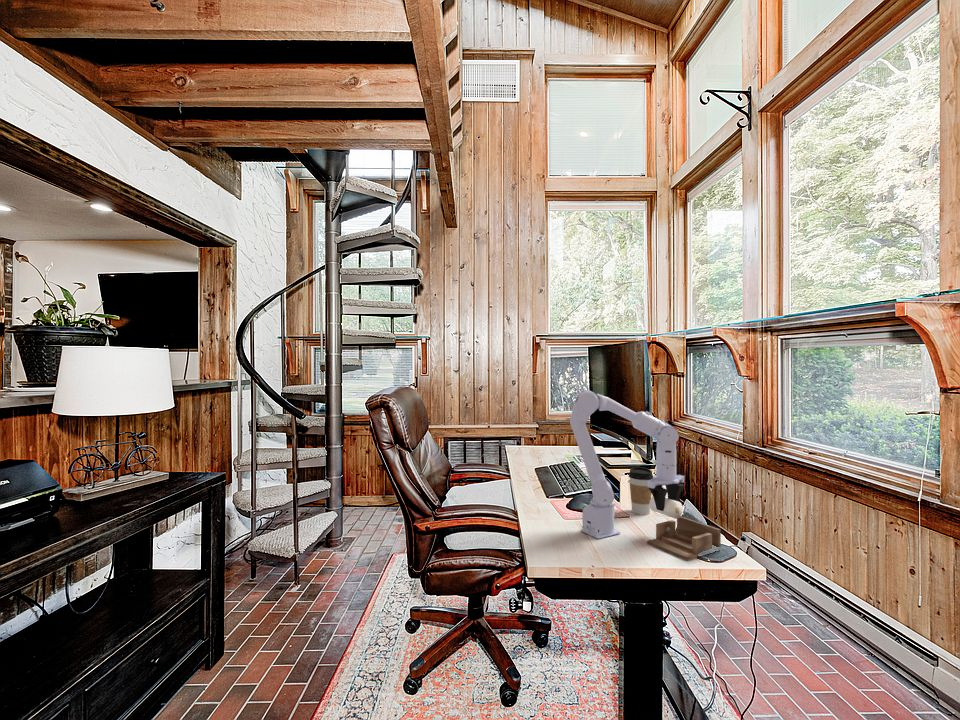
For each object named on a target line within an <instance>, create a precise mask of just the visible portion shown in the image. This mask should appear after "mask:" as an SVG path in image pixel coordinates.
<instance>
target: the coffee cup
mask: <svg viewBox="0 0 960 720" xmlns="http://www.w3.org/2000/svg"><path fill="white" fill-rule="evenodd" d="M628 477H629V490H630V491H629V492H630V503H631V511H632V513H633V514H636V515H649V514H650V512H651V509H650V500H651V498H652V493H651V491H650V490H649V487H647V481H648V480H651V479H653V478H655V477H654V475H653V471H652V470H651V469H649V468H647V467H644V466H643V467H641V466H633V467H631V468H630V469H629V473H628Z"/></svg>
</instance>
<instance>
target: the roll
mask: <svg viewBox="0 0 960 720" xmlns="http://www.w3.org/2000/svg"><path fill="white" fill-rule="evenodd" d="M683 507H684V506H683V504H682V502H680V501H679V500H678V501H675V500H671V499H668V497H665V506H664V511H660V510H657V508H656V504H655V501H654V498H653V496H651V500H650V511H651V512H652V511H653V512H655V513H658V514H661V515H664V516H667V517H668V518H669V517H670V518H672V519H676V520H677V518H679V517H680V516H682V514H683Z"/></svg>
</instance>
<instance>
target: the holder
mask: <svg viewBox="0 0 960 720" xmlns="http://www.w3.org/2000/svg"><path fill="white" fill-rule="evenodd" d="M721 534H722V532H721V528H717V527H716V526H712V525H708V524H706V523H703V522H700V521H698V520H693V519H691V518H688V517H684V516H682V515H681V516H680V517H679V518H677V519H676V520H673V519H671V520H667V521H663V522H659V523H656V524H655V538H653V539H650V540H649V539H648V540H647V541H646V542H647V545H650V546H653V547H655V548H657V549H659V550H662V551H664V552H666V553H669V554H671V555H674V556H675V557H677V558H678V557H679V558H680V559H682V560H685V561H692V560H695V559H696V560H697V559H698V558H697V556H698V554H699V553H701V552H703V551H706V550H709V549H712V545H714V546H716V547H722V545H721V542H722V541H721V538H722V537H721Z"/></svg>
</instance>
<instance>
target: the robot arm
mask: <svg viewBox="0 0 960 720" xmlns="http://www.w3.org/2000/svg"><path fill="white" fill-rule="evenodd" d="M597 410H598V411H599V412H603V411H605V412H606V411H609V412H611V413H612V414H615V415H617V416H620V417H621V418H623V419H626V420H628V421H629V422H631V423H632V427H633V428H634V429H636V430H638V431H639V432H642V433H644V434H645V435H647V436H649V437H651V438H656V449H655V452H656V454H655V455H656V456H655V458H656V461H655V463H656V465H655V473H656V474H655V477H654V478H653V479H651V480H648V481H647V487H649V490H650V491H651V493H652V494H651V496H652V497H653V498H654V501H655V504H656V508H657V510H660V511H664V506H665V498H668V499H671V500H675V501H678V502H679V498H680V495H681V493H682V491H683V489H684V488H685V485H684V484H683V483H685V475H682V474H677V442H678V441H679V438H680V435H679V432H678V430H677V429H676V428H675V426H672V425H671V424H669V423H668V422H666V421H665V420H664V419H659V418H657V417H654V416H653V415H651V414H652V413H651V412H649V411H643V410H641V411H637V412H635V411H634V410H632V409H630V408H628V407H626V406H624V405H622V404H621V403H619V402H617V401H616V400H614V399H612V398H610V397H609V396H605V395H603V394H599V393H595V392H593V391H591V390H588V389H586V390H583V391H581V392H580V393H578V396H577V397H576V399H575V400H574V403H573V407H572V411H571V413H570V414H571V415H570V418H569V424H570V427H571V429H572V432H573V433H572V434H573V435H574V438H575V441H576V443H577V446H578V449H579V452H580V454H581V457H582V460H583V461H582V462H583V463H584V465H585V468H586V472H587V474H588V477H589V481H590V483H591V486H590V489H591V492H592V498H591V499H590V503H589V504H588V505H586V506H584V508H583V509H582V518H581V519H582V523H581V524H582V527H581V528H580V531H581V532H582V533H585V534H587V535H589V536H591V537H593V538H595V539H597V540H598V539H603V538H607V537H612V536H616V535H620V534H621V531H620V530H618V529H615V501H614V499H615V492H614V490H613V488H612V485H611V483H610V481H608V480H607V478H606V477H605V474H604V471H603V469H602V466H601V464H600V460H599V458H598V455H597V453H596V449H595V447H594V444H593V441H592V439H591V438H592V437H591V435H590V433H589V430H588V428H587V422H588V420H589V419H590V416H591V415H592V414H594V413H595V412H596V411H597ZM664 486H665V488H664Z"/></svg>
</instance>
